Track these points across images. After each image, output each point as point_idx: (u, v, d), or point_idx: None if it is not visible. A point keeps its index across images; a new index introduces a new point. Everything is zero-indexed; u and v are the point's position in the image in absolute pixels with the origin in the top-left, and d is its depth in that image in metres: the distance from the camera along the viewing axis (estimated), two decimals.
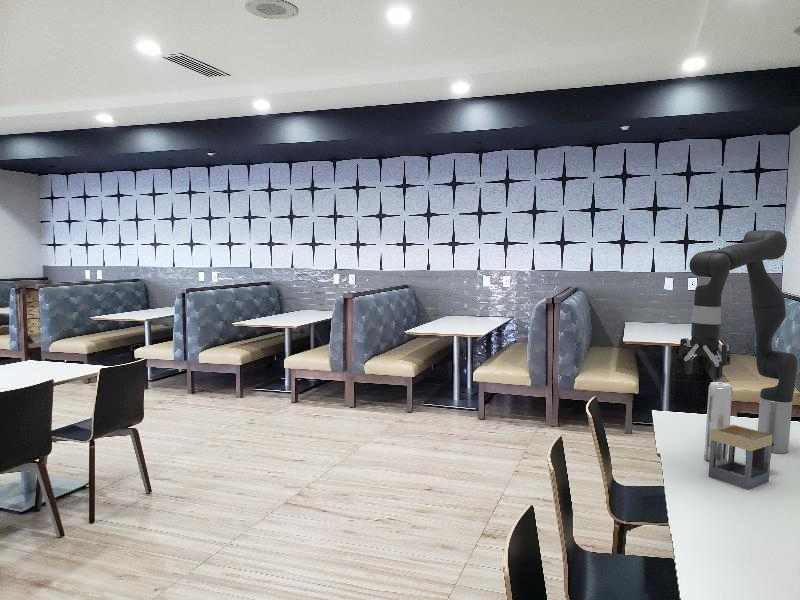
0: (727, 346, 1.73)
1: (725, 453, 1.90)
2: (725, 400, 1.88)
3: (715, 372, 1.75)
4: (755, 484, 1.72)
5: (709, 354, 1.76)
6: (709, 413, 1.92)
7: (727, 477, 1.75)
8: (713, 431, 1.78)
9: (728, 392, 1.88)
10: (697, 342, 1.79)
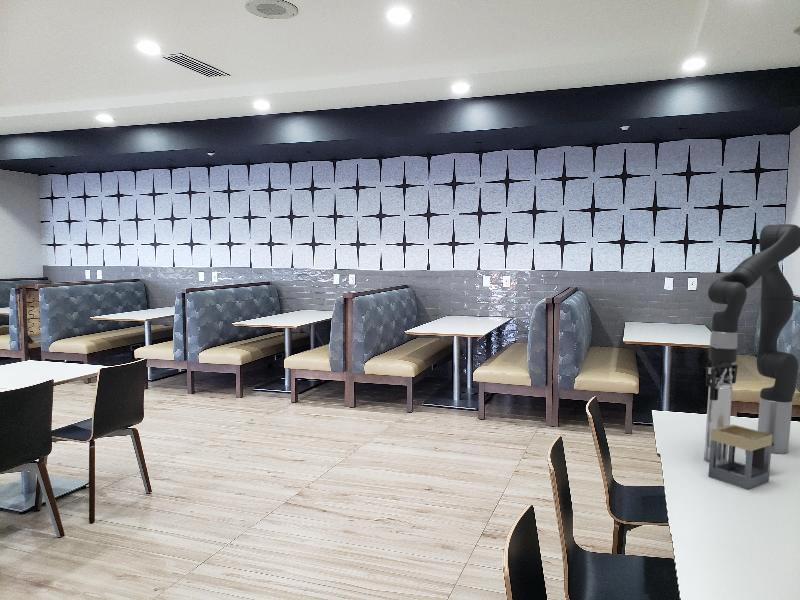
0: None
1: (725, 453, 1.90)
2: (725, 400, 1.88)
3: None
4: (755, 484, 1.72)
5: (730, 375, 1.91)
6: (709, 413, 1.92)
7: (727, 477, 1.75)
8: (713, 431, 1.78)
9: (728, 392, 1.88)
10: (722, 366, 1.89)
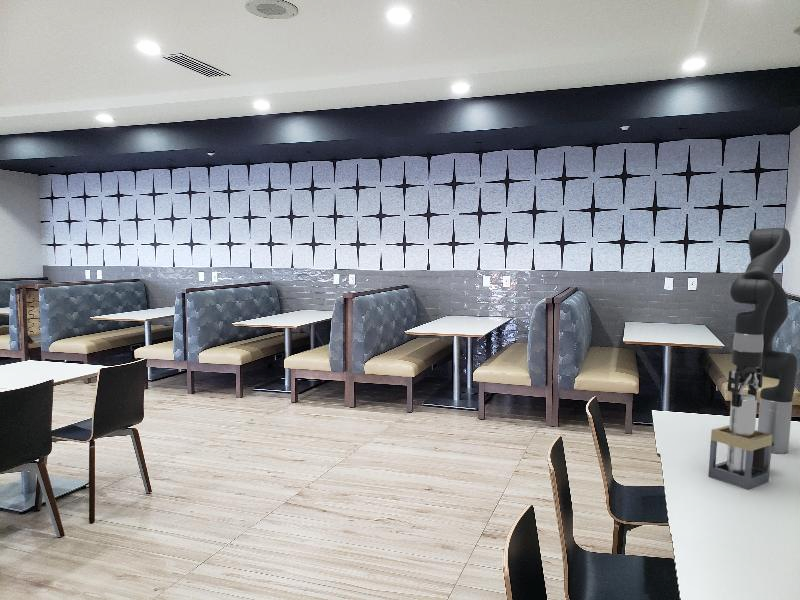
0: None
1: None
2: (749, 413, 1.74)
3: (755, 396, 1.78)
4: (755, 484, 1.72)
5: (756, 380, 1.76)
6: (732, 427, 1.77)
7: (727, 477, 1.75)
8: (713, 431, 1.78)
9: (753, 404, 1.73)
10: (747, 371, 1.74)
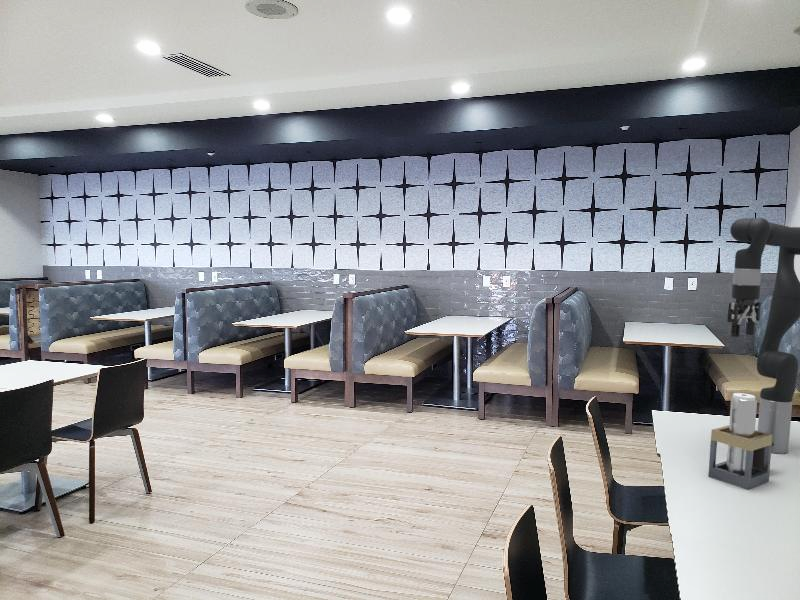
0: None
1: None
2: (749, 413, 1.73)
3: (753, 328, 1.91)
4: (755, 484, 1.72)
5: (754, 313, 1.89)
6: (732, 427, 1.77)
7: (727, 477, 1.75)
8: (713, 431, 1.78)
9: (753, 404, 1.73)
10: (745, 304, 1.87)
